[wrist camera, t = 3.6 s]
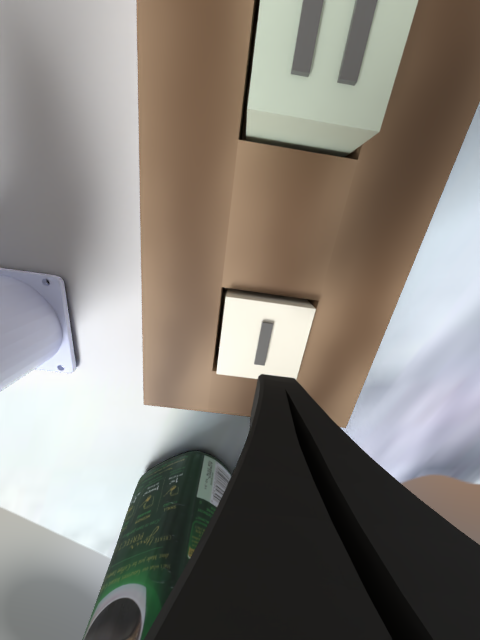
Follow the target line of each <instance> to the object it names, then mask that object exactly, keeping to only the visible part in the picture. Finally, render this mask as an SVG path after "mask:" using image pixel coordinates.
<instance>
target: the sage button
mask: <svg viewBox="0 0 480 640" xmlns="http://www.w3.org/2000/svg"><path fill="white" fill-rule="evenodd" d="M417 3H418V0H260V6H259V14H258V23H257V31H256V39H255V48H254V56H253V64H252V73H251V81H250V89H249V98H248V106H247V124H246V141H249V142H255V143H261V144H267V145H273V146H279V147H285V148H291V149H297V150H302V151H308V152H314V153H320V154H326V155H332V156H338V157H346V156H347V155H349V154H350V153H351V152H353V151H354V150H355V149H357V148H358V147H360V146H361V145H362V144H364V143H365V142H366V141H368V140H369V139H370V138H372V137H373V136H375V135H376V134H377V133H379V132H380V129H381V125H382V122H383V118H384V115H385V112H386V108H387V105H388V101H389V98H390V95H391V91H392V88H393V85H394V81H395V78H396V74H397V71H398V68H399V64H400V61H401V58H402V54H403V51H404V47H405V44H406V41H407V37H408V34H409V31H410V27H411V24H412V20H413V17H414V14H415V10H416V7H417Z"/></svg>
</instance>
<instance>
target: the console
mask: <svg viewBox="0 0 480 640" xmlns="http://www.w3.org/2000/svg"><path fill="white" fill-rule="evenodd" d="M259 6H260V0H137V52H138V108H139V165H140V221H141V278H142V334H143V391H144V405H152V406H160V407H169V408H178V409H187V410H195V411H204V412H213V413H221V414H230V415H239V416H247V417H251V410H252V405H253V400H254V395H255V390H256V385H257V380H258V379H253V378H245V377H237V376H229V375H221V374H216V372H217V364H218V356H219V347H220V339H221V331H222V323H223V314H224V306H225V298H226V293H227V289H228V288H231V289H238V290H246V291H253V292H260V293H267V294H274V295H281V296H288V297H296V298H303V299H307V300H308V301H309V302H310V303H311V304H312V305H313V307H314V308H315V309H316V310H315V314H314V318H313V321H312V325H311V329H310V332H309V336H308V339H307V343H306V347H305V350H304V354H303V357H302V361H301V365H300V368H299V372H298V375H297V379H296V380H297V381H298V383H299V384H300V385H301V386H302V387H303V388H304V389H305V390H306V391H307V393H308V394H309V395H310V396H311V397H312V398H313V399H314V400H315V402H316V403H317V404H318V405H319V406H320V407H321V408H322V409H323V410H324V411H325V412H326V414H327V415H328V416H329V417H330V418H331V419H332V420H333V421H334V422H335V423H336V424H337V425H338V426H339V427H343V428H346V426H347V424H348V421H349V419H350V416H351V414H352V412H353V409H354V407H355V404H356V402H357V399H358V397H359V394H360V392H361V390H362V387H363V385H364V382H365V380H366V377H367V375H368V372H369V370H370V368H371V365H372V363H373V360H374V358H375V355H376V353H377V351H378V348H379V346H380V343H381V341H382V338H383V336H384V333H385V331H386V329H387V326H388V324H389V321H390V319H391V316H392V314H393V312H394V309H395V307H396V304H397V302H398V299H399V297H400V294H401V292H402V290H403V287H404V285H405V282H406V280H407V277H408V275H409V273H410V270H411V268H412V265H413V263H414V260H415V258H416V255H417V253H418V251H419V248H420V246H421V243H422V241H423V238H424V236H425V234H426V231H427V229H428V226H429V224H430V221H431V219H432V216H433V214H434V212H435V209H436V207H437V204H438V202H439V199H440V197H441V195H442V192H443V190H444V187H445V185H446V182H447V180H448V177H449V175H450V173H451V170H452V168H453V165H454V163H455V160H456V158H457V155H458V153H459V151H460V148H461V146H462V143H463V141H464V138H465V136H466V134H467V131H468V129H469V126H470V124H471V121H472V119H473V116H474V114H475V112H476V109H477V107H478V104H479V102H480V0H418V3H417V7H416V10H415V14H414V17H413V20H412V24H411V27H410V31H409V34H408V37H407V41H406V44H405V47H404V51H403V54H402V58H401V61H400V64H399V68H398V71H397V74H396V78H395V81H394V85H393V88H392V91H391V95H390V98H389V101H388V105H387V108H386V112H385V115H384V118H383V122H382V125H381V129H380V132H379V133H377V134H376V135H375V136H373V137H372V138H370V139H369V140H368V141H366V142H365V143H364V144H362V145H361V146H360V147H358V148H357V149H355V150H354V151H353V152H351V153H350V154H349V155H347V156H346V157H338V156H332V155H326V154H320V153H314V152H308V151H302V150H297V149H291V148H285V147H279V146H273V145H267V144H261V143H255V142H249V141H246V124H247V106H248V98H249V89H250V81H251V73H252V64H253V56H254V48H255V39H256V31H257V23H258V14H259Z"/></svg>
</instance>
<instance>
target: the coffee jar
mask: <svg viewBox="0 0 480 640" xmlns="http://www.w3.org/2000/svg"><path fill="white" fill-rule="evenodd" d="M231 476H232V475H231V474H230V472H229V470H228V469H227V468H226V467H225V465H224V464H223V463H222V462H221V461H219V460H218V459H217V458H214V457H213V456H211V455H209V454H206V453H203V452H199V451H190V452H186V453H183V454H181V455H178V456H175V457H173V458H170V459H168V460H166V461H164V462H162V463H160V464H158V465H157V466H155V467H153V468H152V469H150V470H149V471H147V472H146V473H145V474H144V475H143V476H142V477H141V478H140V480H139V482H138V484H137V487H136V489H135V492H134V494H133V497H132V500H131V503H130V506H129V508H128V511H127V514H126V517H125V520H124V523H123V526H122V529H121V532H120V535H119V539H118V542H117V545H116V547H115V550H114V553H113V556H112V559H111V562H110V565H109V567H108V570H107V573H106V576H105V579H104V582H103V584H102V587H101V590H100V593H99V595H98V598H97V601H96V604H95V607H94V610H93V612H92V615H91V618H90V621H89V623H88V626H87V628H86V631H85V634H84V637H83V639H82V640H144V638H145V636H146V635H147V633H148V631H149V629H150V628H151V626H152V624H153V623H154V621H155V619H156V617H157V616H158V614H159V612H160V610H161V609H162V607H163V605H164V603H165V602H166V600H167V598H168V596H169V595H170V593H171V591H172V589H173V588H174V586H175V584H176V582H177V581H178V579H179V577H180V575H181V574H182V572H183V570H184V569H185V567H186V565H187V563H188V561H189V559H190V558H191V556H192V554H193V552H194V550H195V548H196V546H197V545H198V543H199V541H200V539H201V537H202V535H203V533H204V531H205V529H206V527H207V525H208V523H209V521H210V520H211V518H212V516H213V514H214V512H215V510H216V508H217V506H218V504H219V502H220V500H221V498H222V496H223V494H224V492H225V489H226V487H227V485H228V483H229V481H230V478H231Z"/></svg>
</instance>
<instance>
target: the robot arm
mask: <svg viewBox="0 0 480 640" xmlns="http://www.w3.org/2000/svg"><path fill="white" fill-rule="evenodd" d="M47 280H49V282H50V284H48V283H47ZM61 365H62V366H63V367H64V368H63V367H62V366H61ZM34 369H35V370H43V371H52V372H60V373H72V372H74V371H75V370H76V361H75V354H74V347H73V340H72V333H71V326H70V319H69V312H68V305H67V298H66V291H65V285H64V281H63V279H62V278H61V277H59V276H56V275H50V274H43V273H35V272H28V271H21V270H14V269H6V268H0V392H1V391H2V390H4V389H5V388H7V387H8V386H10V385H11V384H13V383H14V382H16V381H17V380H19V379H20V378H22V377H23V376H25V375H26V374H28V373H29V372H31V371H32V370H34ZM144 640H480V545H479V544H477V543H476V542H475V541H473V540H472V539H471V538H469V537H468V536H466V535H465V534H464V533H462V532H461V531H460V530H458V529H457V528H456V527H454V526H453V525H452V524H451V523H449V522H448V521H447V520H446V519H444V518H443V517H442V516H440V515H439V514H438V513H437V512H435V511H434V510H433V509H431V508H430V507H429V506H428V505H426V504H425V503H424V502H423V501H421V500H420V499H419V498H417V497H416V496H415V495H414V494H412V493H411V492H410V491H409V490H408V489H407V488H405V487H404V486H403V485H402V484H401V483H399V482H398V481H397V480H396V479H395V478H394V477H392V476H391V475H390V474H389V473H388V472H387V471H386V470H384V469H383V468H382V467H381V466H380V465H379V464H377V463H376V462H375V461H374V460H373V459H372V458H371V457H370V456H369V455H368V454H366V453H365V452H364V451H363V450H362V449H361V448H360V447H359V446H358V445H357V444H356V443H355V442H354V441H353V440H352V439H351V438H350V437H349V436H348V435H347V434H346V433H345V432H344V431H343V430H342V429H341V428H340V427H339V426H338V425H337V424H336V423H335V422H334V421H333V420H332V419H331V418H330V417H329V416H328V415H327V414H326V412H325V411H324V410H323V409H322V408H321V407H320V406H319V405H318V404H317V403H316V402H315V400H314V399H313V398H312V397H311V396H310V395H309V394H308V393H307V391H306V390H305V389H304V388H303V387H302V386H301V385H300V384H299V383H298V381H297V380H296V379H295V378H290V377H282V376H274V375H266V374H261V375H260V376H258V380H257V385H256V390H255V395H254V400H253V405H252V410H251V418H250V431H249V434H248V437H247V440H246V443H245V445H244V448H243V450H242V453H241V455H240V458H239V460H238V463H237V465H236V467H235V470H234V472H233V474H232V476H231V478H230V481H229V483H228V485H227V487H226V489H225V492H224V494H223V496H222V498H221V500H220V502H219V504H218V506H217V508H216V510H215V512H214V514H213V516H212V518H211V520H210V521H209V523H208V525H207V527H206V529H205V531H204V533H203V535H202V537H201V539H200V541H199V543H198V545H197V546H196V548H195V550H194V552H193V554H192V556H191V558H190V559H189V561H188V563H187V565H186V567H185V569H184V570H183V572H182V574H181V575H180V577H179V579H178V581H177V582H176V584H175V586H174V588H173V589H172V591H171V593H170V595H169V596H168V598H167V600H166V602H165V603H164V605H163V607H162V609H161V610H160V612H159V614H158V616H157V617H156V619H155V621H154V623H153V624H152V626H151V628H150V629H149V631H148V633H147V635H146V636H145V638H144Z"/></svg>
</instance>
